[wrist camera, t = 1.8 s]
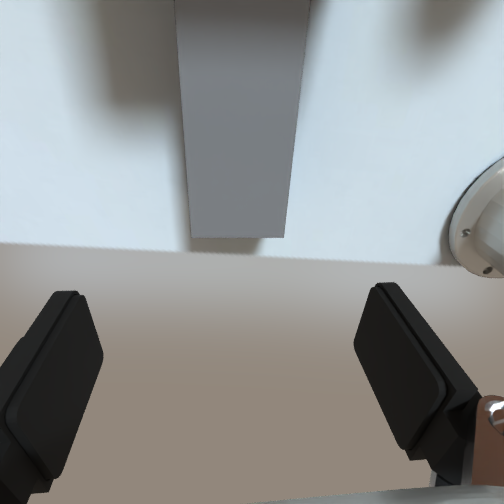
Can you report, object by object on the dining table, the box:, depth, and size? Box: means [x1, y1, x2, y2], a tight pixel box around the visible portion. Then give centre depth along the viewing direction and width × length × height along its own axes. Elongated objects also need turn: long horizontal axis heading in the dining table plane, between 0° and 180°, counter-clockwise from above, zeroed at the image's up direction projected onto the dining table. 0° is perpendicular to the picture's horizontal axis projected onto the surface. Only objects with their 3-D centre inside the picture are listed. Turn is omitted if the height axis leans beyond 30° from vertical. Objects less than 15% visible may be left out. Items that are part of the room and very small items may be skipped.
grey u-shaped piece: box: [174, 0, 311, 238], centre depth 18 cm, size 14×6×5 cm, turn 178°
